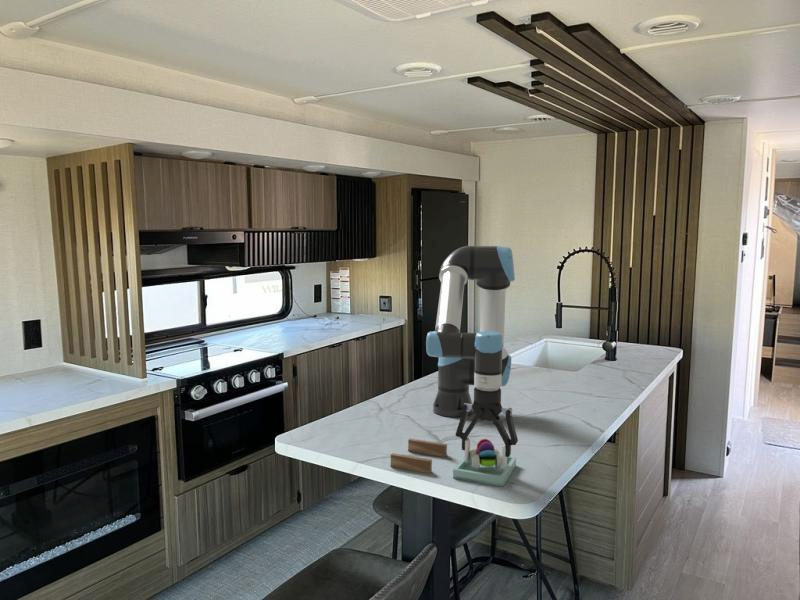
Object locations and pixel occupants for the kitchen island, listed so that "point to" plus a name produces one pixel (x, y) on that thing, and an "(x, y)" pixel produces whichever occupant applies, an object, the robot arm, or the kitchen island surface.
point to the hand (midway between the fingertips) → (485, 464)
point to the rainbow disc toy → (485, 455)
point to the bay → (418, 462)
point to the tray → (484, 472)
